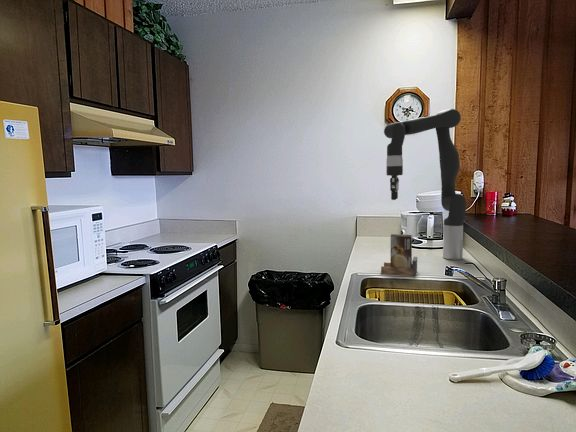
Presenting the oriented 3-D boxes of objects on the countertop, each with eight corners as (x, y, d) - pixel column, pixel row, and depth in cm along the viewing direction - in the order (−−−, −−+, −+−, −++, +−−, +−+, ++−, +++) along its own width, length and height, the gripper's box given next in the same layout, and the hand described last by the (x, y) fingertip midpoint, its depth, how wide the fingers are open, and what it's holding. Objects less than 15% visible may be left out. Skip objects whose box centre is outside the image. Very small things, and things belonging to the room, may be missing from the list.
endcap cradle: (417, 271, 180) (417, 256, 179) (415, 276, 171) (415, 261, 171) (384, 269, 185) (384, 254, 185) (381, 273, 177) (381, 258, 176)
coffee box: (412, 270, 180) (412, 234, 178) (411, 273, 174) (412, 236, 172) (390, 268, 183) (391, 233, 181) (389, 272, 177) (390, 235, 175)
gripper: (401, 164, 184) (401, 200, 186) (403, 165, 198) (403, 198, 199) (384, 165, 187) (384, 200, 188) (388, 165, 200) (388, 198, 202)
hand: (394, 199), depth 194 cm, fingers open, 8 cm apart
